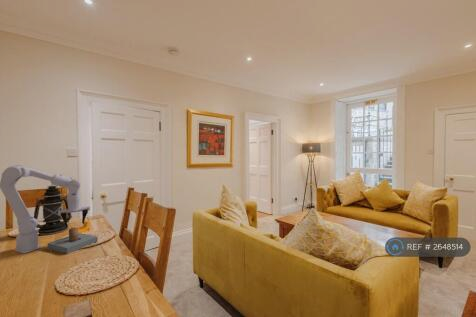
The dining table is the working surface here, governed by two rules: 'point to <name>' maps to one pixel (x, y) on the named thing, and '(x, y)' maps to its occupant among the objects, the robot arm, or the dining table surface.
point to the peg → (73, 234)
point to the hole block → (72, 243)
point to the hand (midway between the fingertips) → (74, 224)
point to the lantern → (51, 212)
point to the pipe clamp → (83, 227)
